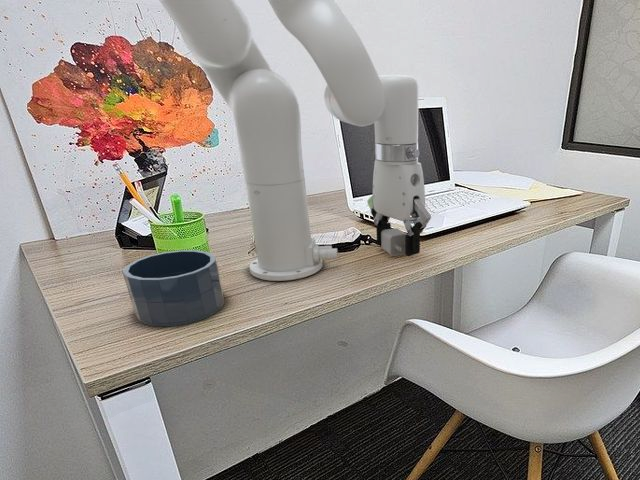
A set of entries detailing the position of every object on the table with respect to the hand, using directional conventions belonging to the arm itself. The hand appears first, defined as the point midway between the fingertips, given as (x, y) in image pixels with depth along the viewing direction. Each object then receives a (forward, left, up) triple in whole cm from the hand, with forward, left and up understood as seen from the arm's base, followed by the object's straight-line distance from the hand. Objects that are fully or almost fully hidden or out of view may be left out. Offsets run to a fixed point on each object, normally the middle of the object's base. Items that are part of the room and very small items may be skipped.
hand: (397, 248), depth 91 cm
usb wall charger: (0, 0, -1) cm, 1 cm away
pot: (+33, +21, -1) cm, 39 cm away
